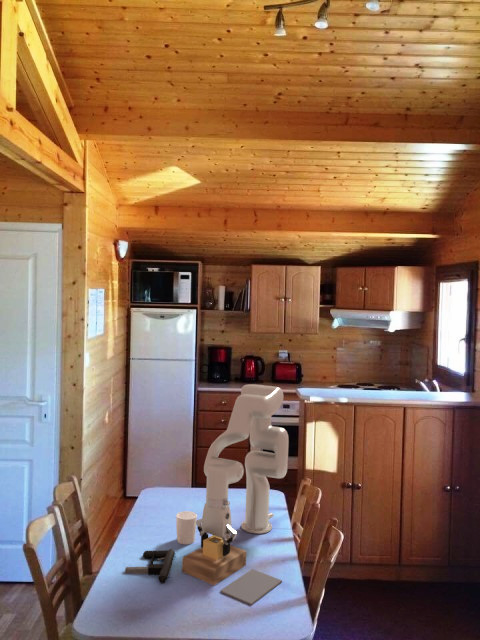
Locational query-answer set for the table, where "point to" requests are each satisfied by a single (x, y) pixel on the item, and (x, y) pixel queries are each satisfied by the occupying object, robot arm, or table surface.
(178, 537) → the white cup
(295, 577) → the table surface
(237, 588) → the mat
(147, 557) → the door handle
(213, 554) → the collar
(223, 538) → the robot arm
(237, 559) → the stand
